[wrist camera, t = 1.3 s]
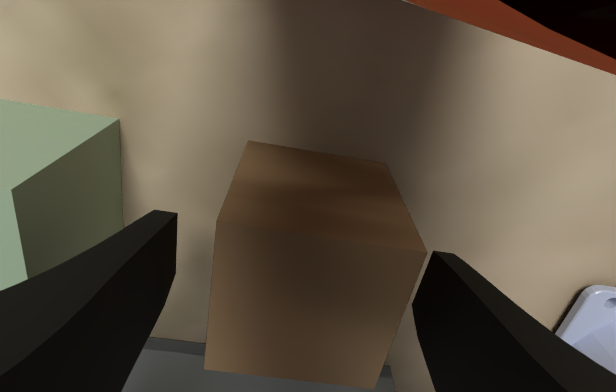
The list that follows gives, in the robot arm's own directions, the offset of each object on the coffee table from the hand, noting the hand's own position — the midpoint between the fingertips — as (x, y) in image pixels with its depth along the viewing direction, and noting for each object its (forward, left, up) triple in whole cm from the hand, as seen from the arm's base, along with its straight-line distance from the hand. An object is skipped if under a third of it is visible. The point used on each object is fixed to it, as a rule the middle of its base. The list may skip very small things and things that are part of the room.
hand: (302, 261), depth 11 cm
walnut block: (0, 0, -3) cm, 3 cm away
